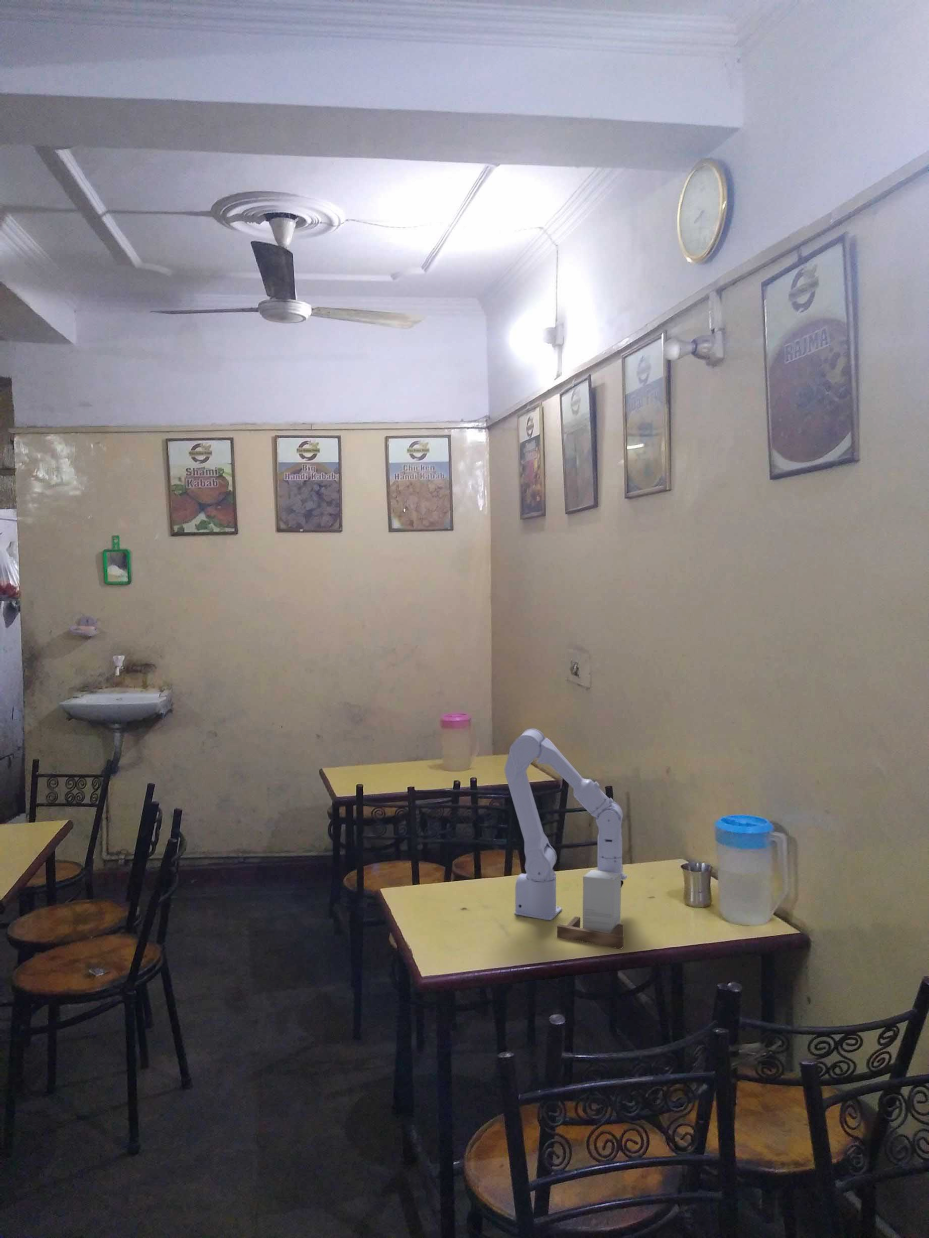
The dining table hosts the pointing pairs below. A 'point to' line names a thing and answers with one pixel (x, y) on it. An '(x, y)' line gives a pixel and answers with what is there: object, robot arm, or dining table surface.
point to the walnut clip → (591, 934)
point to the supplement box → (601, 900)
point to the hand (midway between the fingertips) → (609, 911)
